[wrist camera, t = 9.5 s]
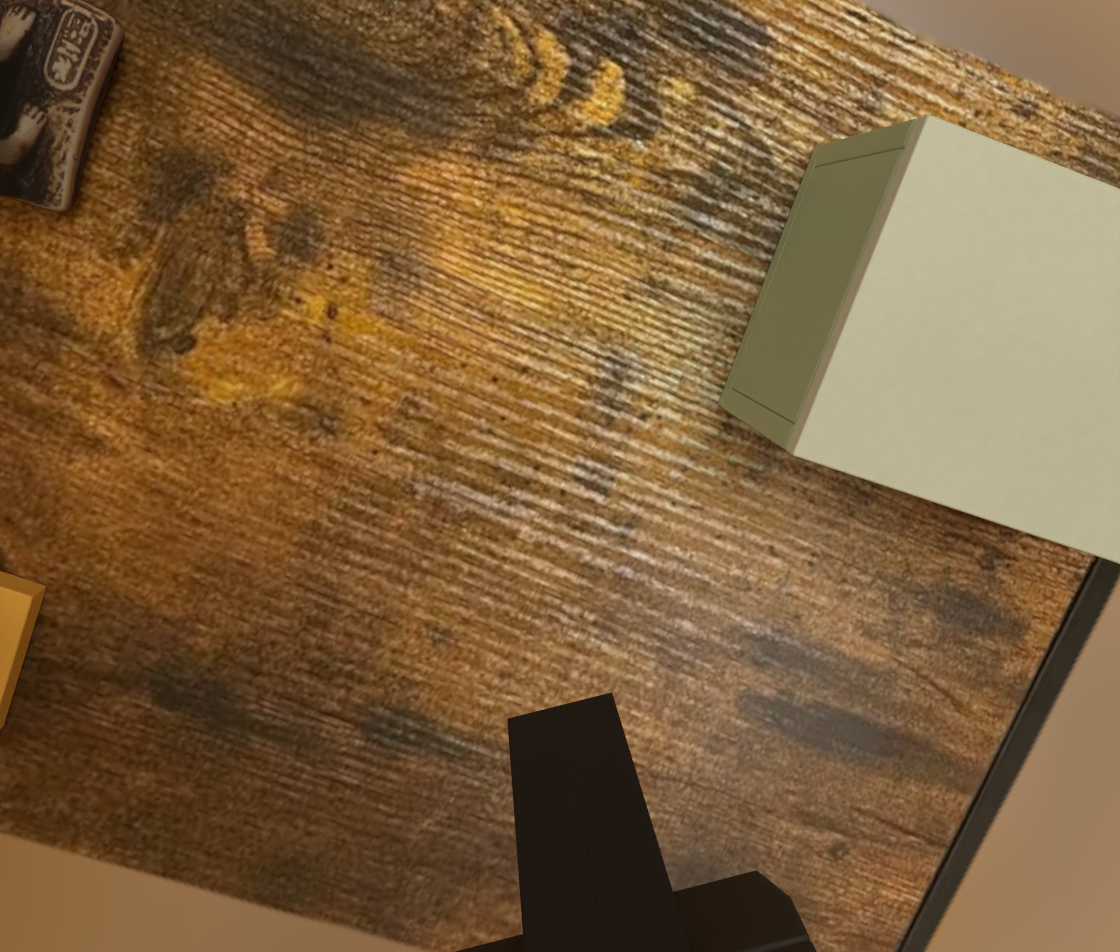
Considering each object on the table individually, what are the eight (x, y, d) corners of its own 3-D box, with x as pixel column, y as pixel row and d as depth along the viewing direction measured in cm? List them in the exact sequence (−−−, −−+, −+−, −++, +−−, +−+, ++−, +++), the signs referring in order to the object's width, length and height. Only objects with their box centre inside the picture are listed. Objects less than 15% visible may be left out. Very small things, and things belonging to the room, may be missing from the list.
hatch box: (1121, 264, 35) (1298, 270, 28) (1013, 503, 37) (1151, 570, 29) (814, 146, 33) (914, 117, 26) (716, 404, 35) (783, 449, 27)
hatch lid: (1338, 282, 27) (1363, 283, 27) (1187, 583, 29) (1206, 592, 28) (915, 117, 26) (928, 113, 25) (784, 450, 27) (792, 456, 27)
